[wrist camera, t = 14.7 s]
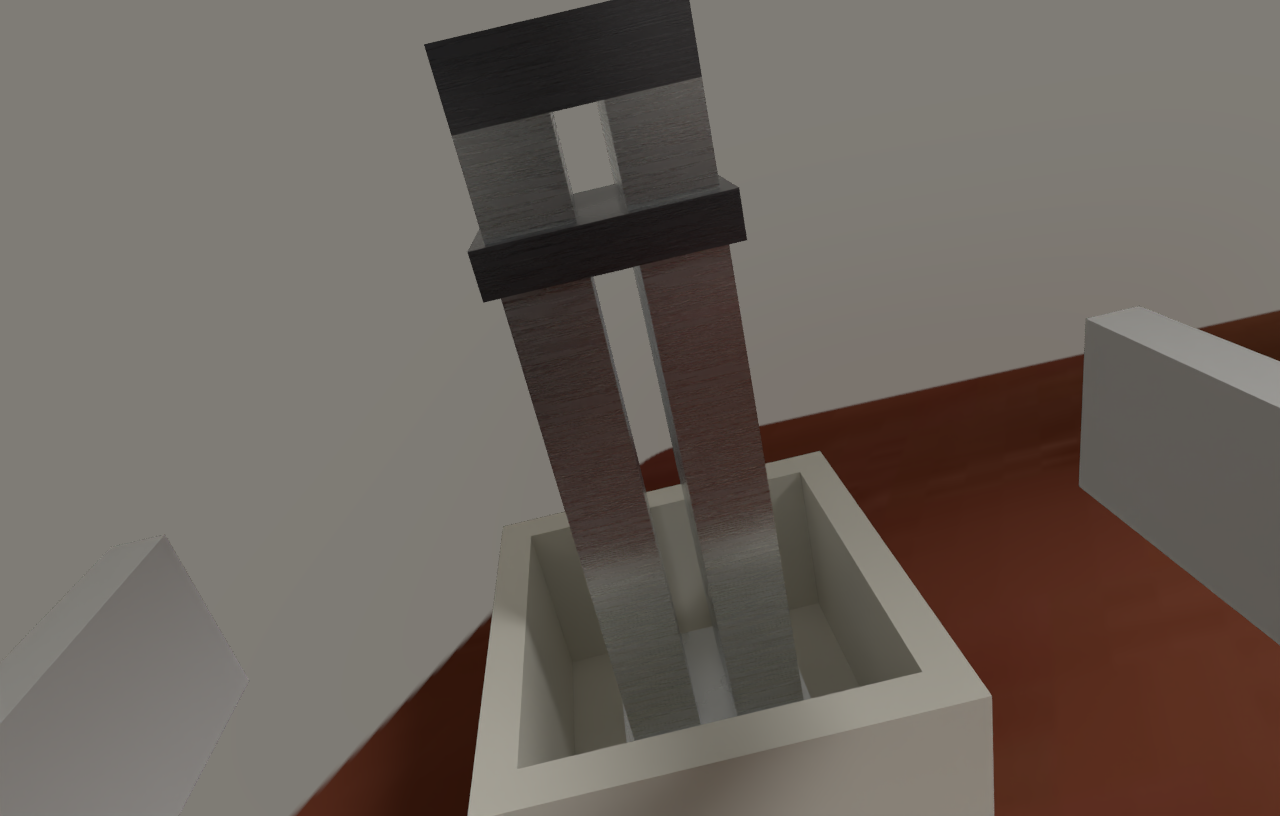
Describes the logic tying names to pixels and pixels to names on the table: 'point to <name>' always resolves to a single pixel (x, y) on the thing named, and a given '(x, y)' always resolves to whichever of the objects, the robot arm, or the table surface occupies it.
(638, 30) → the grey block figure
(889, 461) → the table surface
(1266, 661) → the table surface
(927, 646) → the open box
